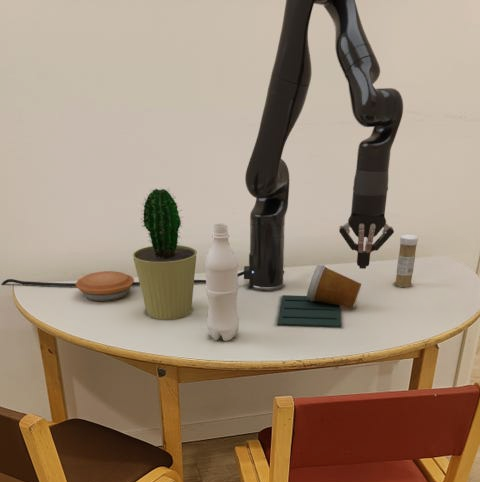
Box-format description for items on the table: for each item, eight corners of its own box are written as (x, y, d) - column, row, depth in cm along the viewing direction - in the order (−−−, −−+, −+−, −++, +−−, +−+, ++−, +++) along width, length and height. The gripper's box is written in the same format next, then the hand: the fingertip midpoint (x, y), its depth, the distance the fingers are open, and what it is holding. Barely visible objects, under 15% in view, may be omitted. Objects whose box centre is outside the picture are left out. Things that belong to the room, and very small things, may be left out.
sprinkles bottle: (405, 281, 170) (411, 233, 163) (414, 286, 167) (421, 237, 160) (391, 283, 169) (397, 235, 162) (400, 288, 165) (407, 239, 158)
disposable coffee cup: (357, 297, 157) (314, 284, 159) (366, 269, 150) (321, 255, 151) (348, 321, 152) (303, 307, 154) (357, 294, 144) (310, 279, 146)
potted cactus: (211, 307, 154) (207, 183, 138) (173, 327, 143) (163, 195, 127) (165, 296, 161) (156, 178, 146) (126, 314, 151) (111, 188, 135)
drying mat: (277, 325, 143) (277, 321, 143) (282, 297, 160) (282, 294, 160) (340, 327, 142) (341, 324, 141) (338, 298, 159) (339, 295, 158)
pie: (65, 300, 160) (62, 282, 157) (98, 282, 172) (96, 265, 170) (115, 307, 155) (113, 288, 152) (145, 288, 167) (143, 271, 165)
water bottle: (207, 331, 141) (202, 221, 128) (237, 330, 141) (236, 220, 128) (208, 343, 135) (203, 229, 121) (240, 342, 135) (239, 228, 122)
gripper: (398, 188, 136) (389, 263, 145) (339, 187, 138) (334, 262, 147) (402, 194, 130) (392, 273, 139) (340, 193, 131) (334, 271, 140)
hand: (362, 267), depth 143 cm, fingers closed
